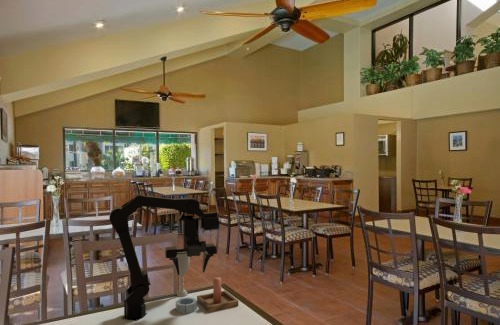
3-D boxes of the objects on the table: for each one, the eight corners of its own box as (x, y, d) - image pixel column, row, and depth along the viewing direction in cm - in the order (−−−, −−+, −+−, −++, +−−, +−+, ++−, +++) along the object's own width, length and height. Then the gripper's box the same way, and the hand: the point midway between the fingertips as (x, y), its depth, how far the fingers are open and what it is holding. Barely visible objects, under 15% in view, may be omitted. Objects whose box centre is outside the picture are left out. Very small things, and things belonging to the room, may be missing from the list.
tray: (208, 314, 121) (208, 307, 121) (197, 302, 132) (197, 295, 132) (238, 307, 127) (238, 300, 127) (225, 296, 138) (225, 290, 138)
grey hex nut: (172, 313, 122) (172, 304, 122) (182, 305, 129) (182, 296, 129) (190, 316, 120) (190, 306, 120) (199, 307, 127) (199, 298, 127)
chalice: (193, 293, 141) (193, 250, 141) (188, 299, 134) (188, 254, 134) (176, 292, 142) (175, 249, 142) (170, 299, 135) (170, 254, 135)
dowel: (212, 303, 128) (212, 279, 128) (215, 300, 131) (215, 276, 131) (219, 304, 127) (219, 280, 128) (222, 301, 130) (222, 277, 130)
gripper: (167, 237, 116) (167, 283, 115) (220, 234, 121) (220, 277, 121) (164, 231, 126) (164, 273, 126) (213, 228, 132) (214, 268, 132)
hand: (191, 273), depth 126 cm, fingers open, 9 cm apart
